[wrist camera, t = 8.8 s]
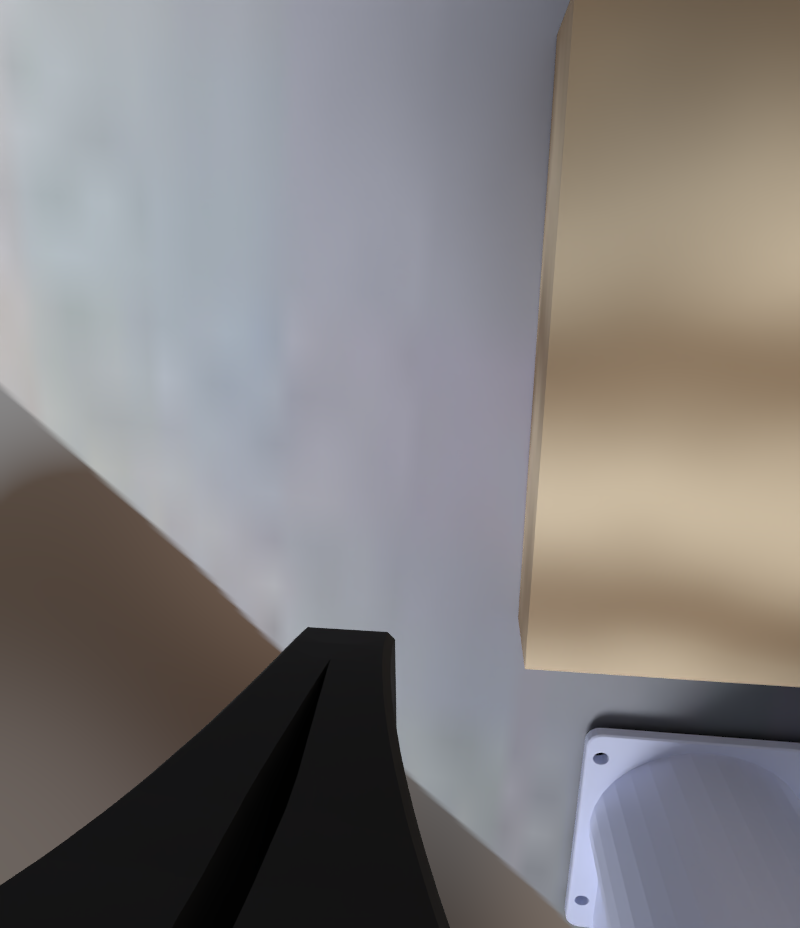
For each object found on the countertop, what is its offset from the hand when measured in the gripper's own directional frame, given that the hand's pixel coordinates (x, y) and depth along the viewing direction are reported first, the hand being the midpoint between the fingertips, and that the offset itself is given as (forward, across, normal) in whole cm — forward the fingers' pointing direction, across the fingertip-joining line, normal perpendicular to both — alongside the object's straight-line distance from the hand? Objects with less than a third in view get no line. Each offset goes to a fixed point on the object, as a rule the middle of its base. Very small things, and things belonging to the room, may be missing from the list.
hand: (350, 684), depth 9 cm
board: (+9, -10, -3) cm, 14 cm away
